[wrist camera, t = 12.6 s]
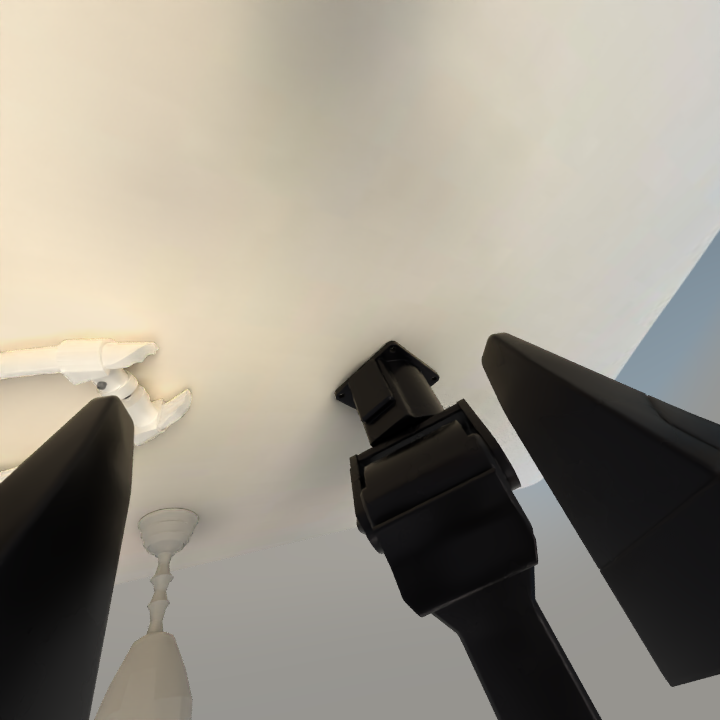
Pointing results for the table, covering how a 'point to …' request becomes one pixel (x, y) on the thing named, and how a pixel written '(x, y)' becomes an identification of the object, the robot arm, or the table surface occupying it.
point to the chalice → (154, 637)
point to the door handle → (101, 378)
